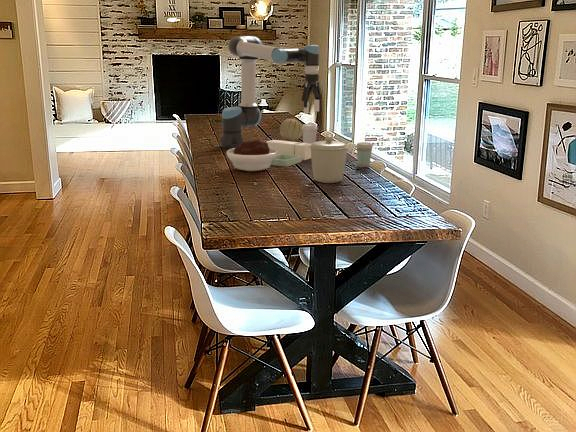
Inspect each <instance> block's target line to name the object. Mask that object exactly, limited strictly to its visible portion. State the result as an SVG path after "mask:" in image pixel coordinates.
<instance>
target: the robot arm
mask: <svg viewBox="0 0 576 432" xmlns="http://www.w3.org/2000/svg"><path fill="white" fill-rule="evenodd" d="M227 47H228V51H229V52H230V54H232V55H233V56H235V57H238V59H239V61H240V62H241V84H240V85H241V95H240V96H241V98H240V99H241V100H240V101H241V102H240V103H239V104H238V106H231V107H230V106H229V107H226V108H223V110H222V113H221V114H222V115H221V117H222V118H221V122H222V123H221V124H222V135H221V138H220V142H219V147H220V148H224V149H233V148H236V147H239V146H240V145H241V144H242V142H245V139H244V136H243V129H244V128H253V127H256V126H258V125H259V124H260V122H261V121H262V112H261V110H260V108H258V107H259V106H258V104H257V103H256V87H257V86H256V85H257V83H256V81H257V80H256V77H257V76H256V74H257V69H256V68H257V62H258V61H259V59H261V60H267V61H272V62H274V63H275V64H276V63H277V64H286V63H287V64H289V63H292V64H293V63H304V64H305V65H304V73H305V75H304V80H305V81H306V82H304V84H303V85H304V87H303V92H302V96H301V101H302V102H303V114H309V112H310V111H309V107H310V105H309V103H310V102H309V99H310V95H311V94H313V96H314V101H313V102H314V103H313V105H314V109H313V110H314V112H320V100H322V94H321V89H320V82H319V80H320V79H319V78H320V75H319V70H320V66H319V64H320V51H319V49H320V48H319V44H318V45H317V44H306V45H305V48H297V47H295V48H294V47H293V48H281V47H278V46H277V47H276V46H270V45H266V44H265V45H264V44H263V42H262V41H261V40H260V38H258V37H257V36H252V35H244V36H243V35H236V36H234V37H232V38H231V39H230V40H229V42H228V44H227Z"/></svg>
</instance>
